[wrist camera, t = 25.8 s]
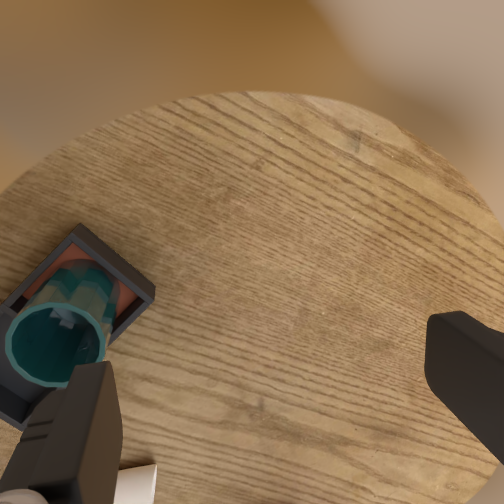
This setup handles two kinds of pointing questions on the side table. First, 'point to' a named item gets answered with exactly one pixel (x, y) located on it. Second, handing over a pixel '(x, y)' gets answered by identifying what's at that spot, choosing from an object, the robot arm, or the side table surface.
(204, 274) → the side table surface
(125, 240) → the side table surface
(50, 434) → the robot arm
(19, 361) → the cutlery cup
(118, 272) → the divided tray
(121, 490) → the long cone
